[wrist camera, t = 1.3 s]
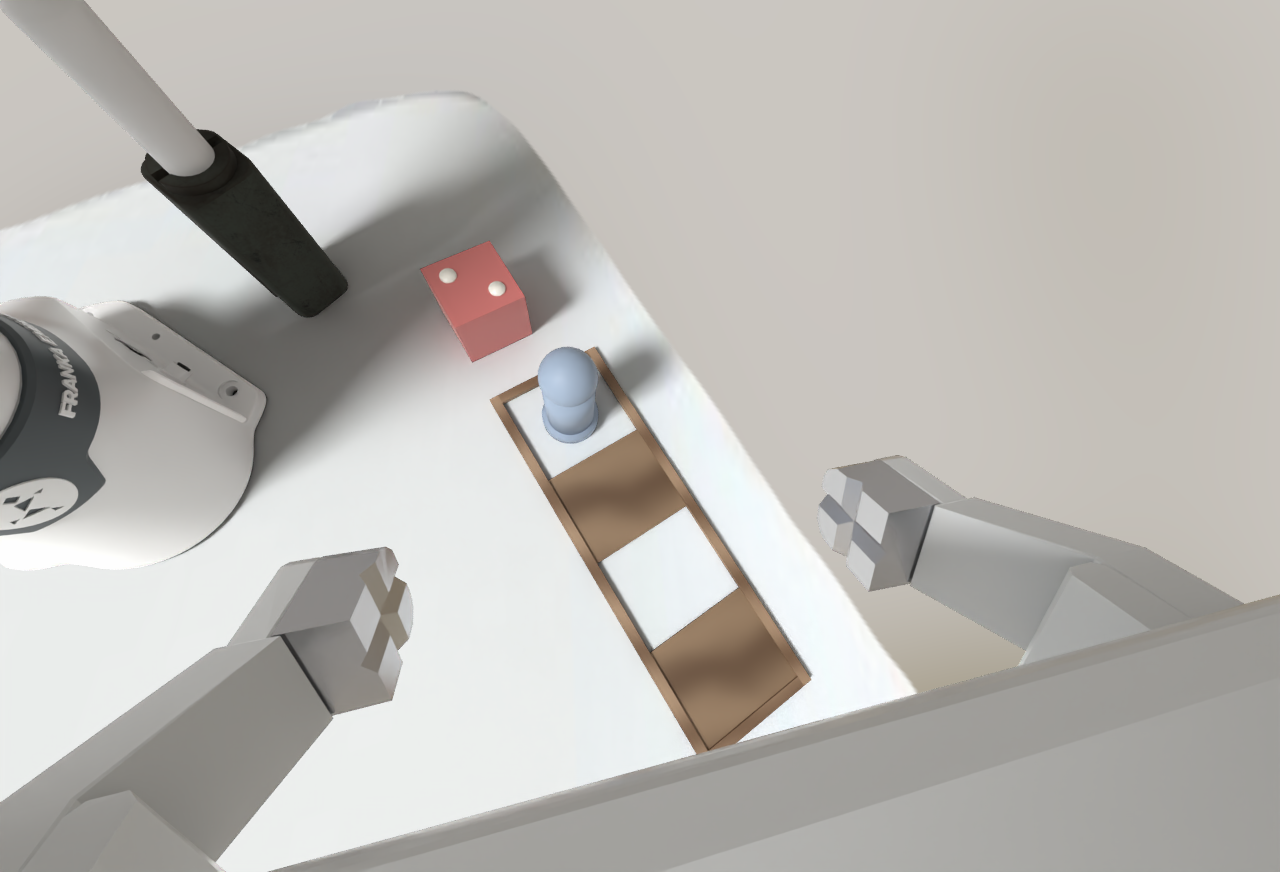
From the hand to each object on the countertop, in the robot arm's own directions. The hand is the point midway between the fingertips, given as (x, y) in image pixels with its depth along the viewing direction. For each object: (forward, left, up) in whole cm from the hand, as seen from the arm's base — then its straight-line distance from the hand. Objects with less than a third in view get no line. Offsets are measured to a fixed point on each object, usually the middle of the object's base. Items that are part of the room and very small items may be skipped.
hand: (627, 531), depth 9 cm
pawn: (-10, +8, -30) cm, 32 cm away
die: (-22, +9, -30) cm, 38 cm away
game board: (+2, +5, -30) cm, 30 cm away
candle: (-35, 0, -30) cm, 46 cm away
